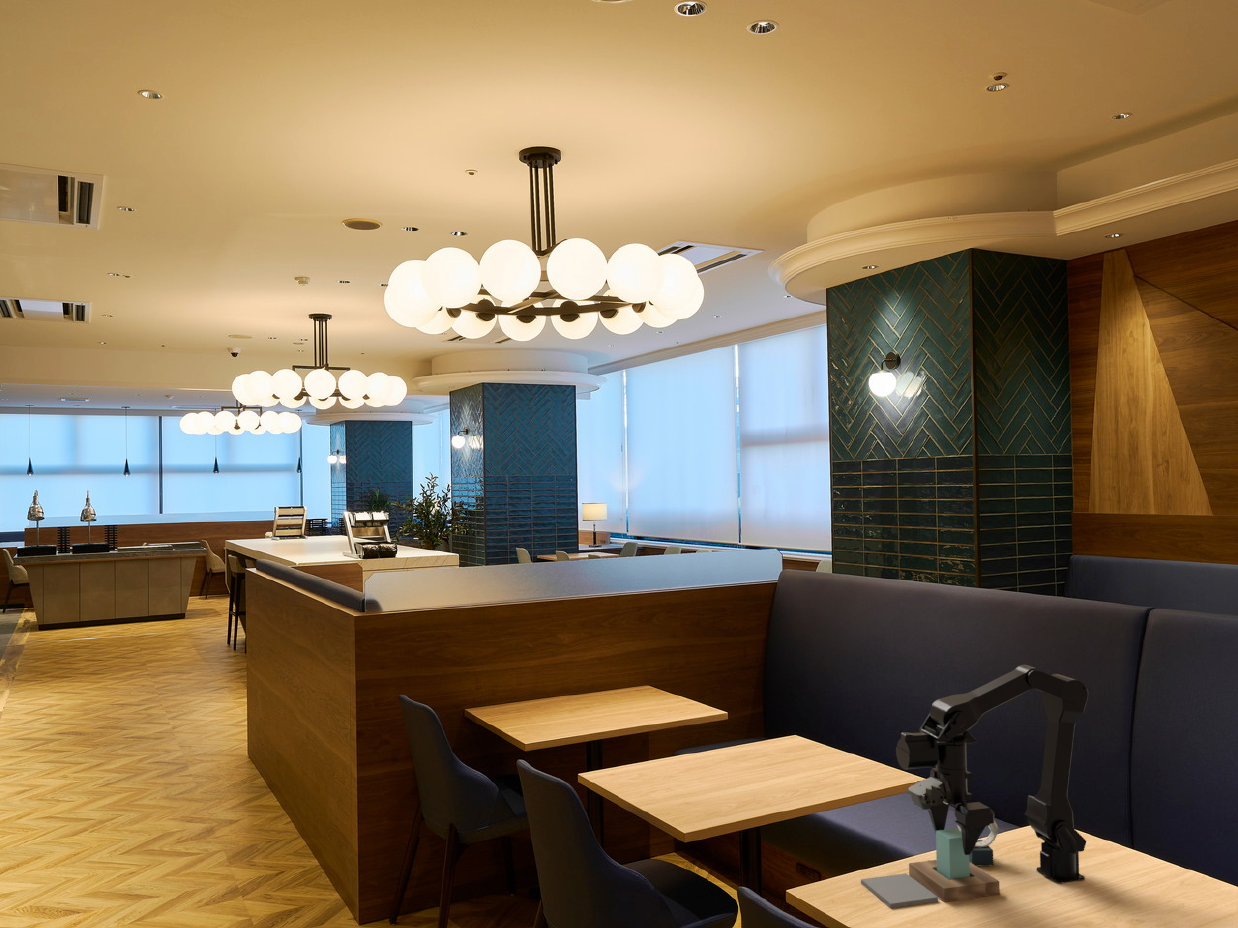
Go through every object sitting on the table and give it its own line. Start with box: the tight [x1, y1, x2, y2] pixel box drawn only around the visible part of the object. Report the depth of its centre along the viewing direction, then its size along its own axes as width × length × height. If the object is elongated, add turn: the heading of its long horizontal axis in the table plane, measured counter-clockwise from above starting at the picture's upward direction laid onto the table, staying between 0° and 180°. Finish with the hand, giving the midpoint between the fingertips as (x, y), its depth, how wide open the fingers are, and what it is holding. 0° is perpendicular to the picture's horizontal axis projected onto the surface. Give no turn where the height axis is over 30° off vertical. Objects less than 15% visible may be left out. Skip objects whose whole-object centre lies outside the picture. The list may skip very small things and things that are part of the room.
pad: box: [860, 873, 939, 909], centre depth 177 cm, size 10×11×1 cm
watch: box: [956, 819, 1000, 866], centre depth 192 cm, size 6×8×11 cm
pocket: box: [908, 859, 1001, 903], centre depth 180 cm, size 12×12×2 cm
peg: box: [935, 828, 970, 880], centre depth 180 cm, size 4×4×10 cm
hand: (953, 845), depth 180 cm, fingers open, 9 cm apart
